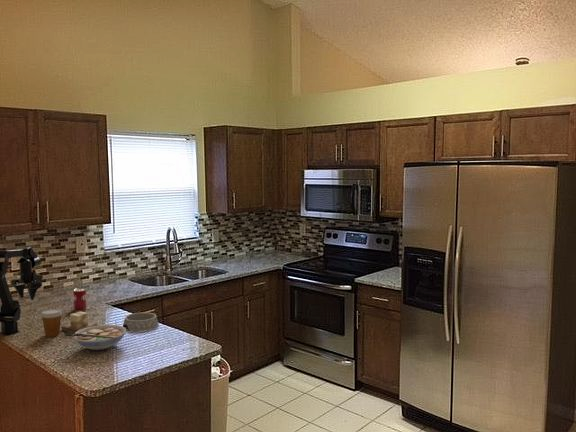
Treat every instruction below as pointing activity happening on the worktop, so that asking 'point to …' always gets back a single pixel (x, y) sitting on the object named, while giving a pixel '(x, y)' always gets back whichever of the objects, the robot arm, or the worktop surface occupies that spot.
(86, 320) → the maple cube
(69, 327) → the walnut board
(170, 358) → the worktop surface
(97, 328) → the ramen bowl
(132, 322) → the dog bowl
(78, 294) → the soda can
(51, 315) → the disposable coffee cup
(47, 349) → the worktop surface
